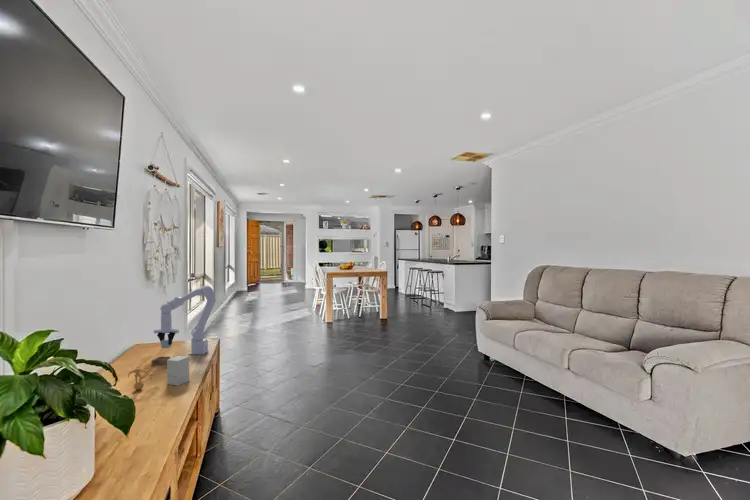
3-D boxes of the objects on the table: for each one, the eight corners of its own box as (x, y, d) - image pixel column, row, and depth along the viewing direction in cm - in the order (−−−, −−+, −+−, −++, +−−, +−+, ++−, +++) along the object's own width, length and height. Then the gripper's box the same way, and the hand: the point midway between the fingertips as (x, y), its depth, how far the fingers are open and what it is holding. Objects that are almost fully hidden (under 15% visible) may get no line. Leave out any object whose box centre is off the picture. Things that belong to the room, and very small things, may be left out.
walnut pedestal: (170, 361, 217) (170, 356, 217) (163, 365, 210) (163, 360, 210) (158, 361, 217) (158, 356, 217) (151, 365, 210) (151, 360, 210)
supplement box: (189, 380, 186) (189, 356, 186) (177, 386, 179) (177, 361, 179) (178, 379, 188) (178, 355, 188) (166, 384, 181) (166, 359, 181)
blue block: (171, 346, 226) (171, 338, 226) (167, 348, 222) (167, 340, 222) (165, 346, 226) (165, 338, 226) (161, 348, 222) (161, 340, 222)
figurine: (149, 386, 178) (149, 363, 178) (147, 391, 172) (146, 366, 172) (129, 389, 175) (129, 365, 174) (126, 394, 169) (126, 369, 169)
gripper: (150, 324, 220) (150, 346, 220) (174, 324, 220) (174, 346, 220) (157, 321, 227) (157, 343, 227) (180, 321, 227) (180, 343, 227)
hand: (166, 344), depth 224 cm, fingers closed on blue block, 4 cm apart
